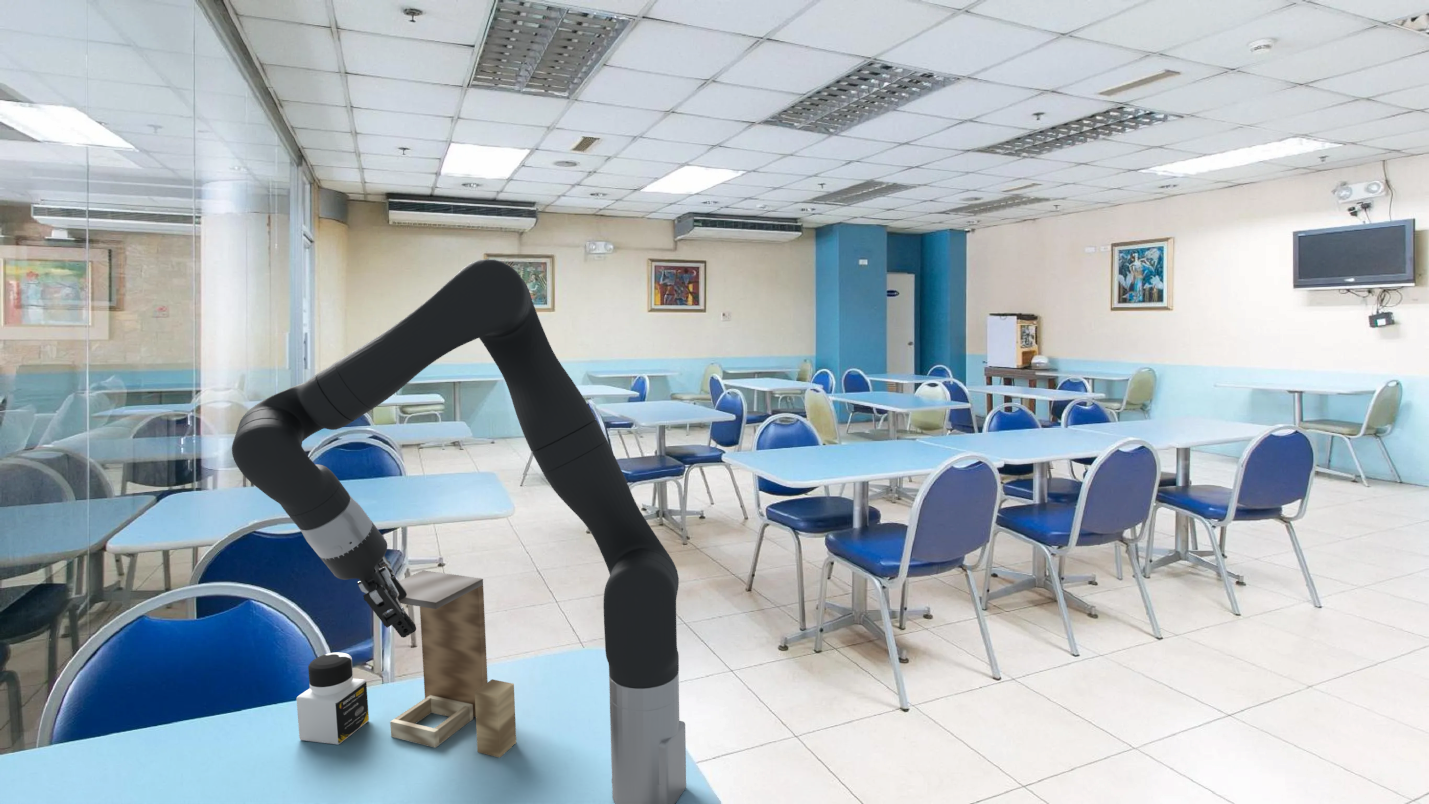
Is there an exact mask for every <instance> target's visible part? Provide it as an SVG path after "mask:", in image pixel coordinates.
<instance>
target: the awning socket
mask: <svg viewBox="0 0 1429 804" xmlns="http://www.w3.org/2000/svg"><path fill="white" fill-rule="evenodd" d="M398 581H399V583H400V584H401V585H402V587H403V588H404V589H405V591H406V594H407V596H406V597H405V598H403V599H401V600H400V601H399V602H400V604H401V605H403V604H404V605H409V606H415V607H419V615H420V617H419V618H420V632H421V633H420V634H421V649H422V654H421V655H422V666H423V667H422V669H423V670H422V671H423V672H422V673H423V685H424V686H423V688H424V699H422V700H420V701H419V702H417V703H416V704H414V705H413V706H411V707H410V708H408V709H407V710H405V711H404V712H402V713H401V714H400V715H397V716H396V717H394V719H392V720H390V722H389V723H390V735H391V736H390V737H391V738H394V739H399V740H402V741H407V742H411V743H414V744H419V745H423V746H427V747H431V748H434V749H436V748H437V747H438V746H440V745H441V744H442V743H444V742H445V741H447V740H448V739H449V738H451V737H452V736H453V735H454V734H456V733H457V732H458V731H460V730H461V729H462V728H463V727H465V726H466V725H467V724H469V723H470V722H472V720H474V718H476V709H475V691H476V690H478V689H479V688H480V687H482V686H483V685H485V684H486V683H487V682H489V680H488V663H487V662H488V661H487V659H488V658H487V640H486V639H487V638H486V622H485V621H486V618H485V617H486V616H485V615H486V614H485V597H484V596H485V593H484V579H483V578H481V577H474V576H465V575H459V574H452V573H446V572H437V571H431V570H421V571H418V572H416V573H414V574H412V575H408V576H407V577H405V578H403V579H400V580H398ZM430 714H436V715H441V716H445V717H448V718H446V719H445V720H444V721H442V722H441V723H439V724H438V725H437V726H435V727H431V726H426V725H421V724H417V723H418V722H420V721H422V720H423V719H425V718H426V717H427V716H429V715H430Z"/></svg>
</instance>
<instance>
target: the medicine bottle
mask: <svg viewBox="0 0 1429 804" xmlns="http://www.w3.org/2000/svg"><path fill="white" fill-rule="evenodd" d="M307 668H308V681H309V682H308V683H309V688H308V689H306V690H304V691H303V692H302V693H300V694H299V695H298V696H297V697H296V710H297V711H296V712H297V723H298V734H299V735H298V738H299V740H300V741H306V742H314V743H321V744H327V745H328V744H331V745H341V744H342V743H343V742H344V741H346V740H347V739H348V738H349V737H351V736H352V735H354V733H356V732H357V731H358V730H359V729H360V728H361V727H364V725H365V724H366V723H368V722H369V721H370V717H369V701H368V686H367V680H366V679H362V678H354V672H353V658H352V656H351V655H350V654H348V653H346V652H338V651H337V652H330V653H329V652H328V653H325V654H322V655H320V656H318V657H316V658H314V659H313V660H312V661H310V663H309V664H308V667H307Z"/></svg>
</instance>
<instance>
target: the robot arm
mask: <svg viewBox="0 0 1429 804" xmlns="http://www.w3.org/2000/svg"><path fill="white" fill-rule="evenodd" d="M477 339H479V340H480V342H482V344H483V345H484V347H485V349H486V350H487V352H488V353H489V355H490V357H491V358H492V360H493V361H494V363H495V364H496V366H497V369H499V372H500V374H501V375H502V378H503V379H504V381H505V383H506V386H507V389H508V392H509V395H510V398H511V402H512V404H513V408H514V411H515V415H516V417H517V420H518V423H519V425H520V429H521V431H522V434H523V436H524V439H525V441H526V443H527V444H528V448H529V450H530V451H531V453H532V455H533V458H534V459H535V461H536V463H537V464H538V466H539V468H540V470H541V472H542V474H543V475H544V477H545V479H546V480H547V482H548V484H549V485H550V486H551V488H552V489H553V491H554V492H555V493H556V494H557V496H558V497H559V498H560V499H561V500H562V501H563V503H565V505H567V506H568V508H570V510H571V511H573V513H575V515H577V517H578V518H579V519H580V520H581V521H582V522H583V523H584V525H585V526H586V527H587V529H588V530H589V532H590V533H591V535H592V537H593V539H594V541H595V542H596V544H597V547H598V549H599V551H600V554H601V556H602V558H603V561H604V562H605V563H604V564H605V565H606V568H607V570H608V572H609V577H608V579H607V582H606V583H605V586H604V587H605V588H604V590H603V591H604V592H603V626H604V628H603V629H604V646H605V647H604V649H605V656H606V660H607V663H608V674H609V675H608V676H609V677H608V680H609V681H608V683H609V720H610V722H609V723H610V724H609V725H610V761H611V765H610V766H611V785H612V786H611V789H612V790H611V791H612V792H611V793H612V801H613V803H614V804H677V801H678V800H679V799H680V797H681V796H682V794H683V793H684V792H685V790H686V789H687V751H686V742H687V741H686V722H685V721H682V720H680V680H679V677H680V676H679V675H680V674H679V671H680V668H679V667H680V665H679V659H680V656H679V651H678V645H677V644H678V642H677V640H678V639H677V630H678V629H677V597H678V591H679V582H680V581H679V579H680V578H679V574H678V570H677V567H676V564H675V563H674V560H673V559H672V557H671V556H670V554H669V553H668V551H667V550H666V548H665V547H664V545H663V543H661V541H660V540H659V538H658V536H657V535H656V533H655V532H654V530H653V528H651V527H652V526H650V524H649V523H648V521H647V519H646V518H645V516H644V515H643V513H642V511H641V510H640V508H639V506H638V505H637V503H636V500H635V499H634V498H635V497H634V496H633V494H632V491H631V488H630V487H629V483H628V482H627V479H626V477H625V475H624V472H623V471H622V469H621V467H620V464H619V462H618V461H617V458H616V456H615V454H614V452H613V450H612V448H611V445H610V443H609V442H608V440H607V438H606V435H605V434H604V431H603V430H602V428H601V425H600V424H599V422H598V420H597V418H596V417H595V414H594V412H593V411H592V410H591V408H590V406H589V404H588V403H587V401H586V399H585V397H584V396H583V395H582V393H581V392H580V390H579V389H578V386H577V385H576V383H575V382H574V381H573V379H572V378H571V377H570V375H569V374H568V372H567V370H566V369H565V368H564V367H563V364H562V363H561V362H560V360H559V359H558V357H557V356H556V354H555V352H554V350H553V348H552V345H551V344H550V342H549V339H548V337H547V335H546V332H545V330H544V328H543V326H542V323H541V321H540V317H539V315H538V312H537V311H536V307H535V305H534V302H533V299H532V295H531V292H530V290H529V288H528V285H527V282H525V280H524V279H523V278H522V277H521V275H520V274H519V273H518V272H517V271H516V270H515V268H513V267H512V266H511V265H509V264H507V263H505V262H503V261H500V260H497V259H489V258H488V259H487V258H485V259H478V260H475V261H472V262H470V263H468V264H467V265H466V266H464V267H463V268H462V269H460V271H458V272H457V273H456V274H454V276H453V277H452V278H450V279H449V280H448V281H447V282H446V283H445V284H444V285H443V286H441V287H440V288H439V289H438V290H437V291H436V292H435V293H434V294H432V295H431V297H429V298H428V299H426V301H425V302H424V303H421V305H420V306H418V307H417V308H416V309H414V310H413V311H411V312H410V313H409V314H408V315H407V316H405V317H404V318H403V319H401V320H400V321H399V322H397V323H395V324H394V325H393V326H391V327H389V328H388V329H386V331H383V332H381V334H379V335H378V336H376V337H374V338H373V339H371V340H370V341H368V342H366V343H365V344H363V345H361V346H360V347H358V348H356V349H355V350H353V351H351V352H350V353H348V354H347V355H345V356H343V357H342V358H340V359H339V360H337V361H336V362H333V363H332V364H330V365H329V366H328V367H326V368H323V369H322V370H321V371H320V372H318V373H316V374H315V375H313V376H312V377H310V378H309V379H308V380H307V381H305V382H302V383H299V384H297V385H294V386H292V387H289V388H287V389H285V390H281V391H280V392H278V393H275V394H273V395H271V396H269V397H267V398H265V399H263V400H262V401H260V402H258V403H257V404H255V405H254V406H253V407H251V408H249V410H248V411H247V412H246V413H245V414H244V415H243V416H242V417H241V419H240V421H239V423H238V426H237V430H236V433H235V436H234V439H233V441H232V446H231V454H232V457H233V461H234V463H235V465H236V467H237V468H238V469H239V471H240V472H241V474H242V475H243V477H245V478H246V479H247V481H249V482H250V483H251V484H252V485H253V486H255V488H257V489H258V490H260V491H261V492H262V493H264V494H265V495H266V496H267V497H268V498H270V499H272V500H274V501H275V502H276V503H278V504H279V505H280V506H281V508H282V509H283V511H285V513H286V514H287V515H288V517H289V518H290V519H291V520H292V521H293V523H294V524H295V525H296V526H297V528H298V529H299V530H300V532H301V533H302V535H303V538H304V539H305V541H306V542H307V543H308V545H309V546H310V547H311V549H313V551H314V552H315V553H316V555H317V556H318V557H319V559H320V560H321V561H322V562H323V563H324V564H325V566H326V567H327V568H328V569H329V571H330V572H331V573H332V574H333V576H334V577H336V578H337V579H339V580H344V581H345V580H354V579H357V580H359V581H357V583H356V584H357V585H358V587H359V589H360V591H361V592H362V593H364V594H363V595H362V596H363V600H364V602H366V603H367V604H368V605H369V607H370V608H371V609H372V611H373V612H374V613H375V615H376V616H377V617H378V619H379V620H380V622H382V625H383V626H384V627H385V628H389V627H391V626H392V628H393V629H394V630H395V631H396V632H397V634H398V635H399V636H400V637H401V638H407V637H408V636H410V635H411V634H412V633H415V632H416V630H417V625H416V624H415V622H414V621H413V619H411V618H410V616H409V615H408V613H407V612H406V611H405V608H404V606H402V603H400V602H399V601H400V600H401V599H403V598H405V597H406V596H407V594H406V591H405V589H404V588H403V587H402V585H401V584H400V583H399V581H400V580H398V579H397V577H396V574H395V571H394V570H393V568H392V565H391V561H390V560H388V559H387V557H386V556H385V555H386V553H387V550H388V543H387V540H386V539H385V537H384V536H383V535H382V533H381V532H380V531H379V529H378V528H377V526H376V525H375V524H374V522H373V521H372V519H371V518H370V517H369V515H367V512H365V510H364V509H363V507H362V506H361V505H360V504H359V503H358V502H357V501H356V500H355V499H354V498H353V497H352V496H351V495H350V493H349V492H348V491H347V489H346V488H345V486H344V485H343V484H342V483H341V481H340V480H339V479H338V477H337V476H336V474H335V473H334V472H333V471H332V470H330V469H329V468H328V467H327V466H325V465H322V464H318V463H315V462H314V461H313V460H312V459H311V458H310V457H309V456H308V454H307V453H306V451H305V449H304V447H303V441H305V440H306V439H307V438H309V437H310V436H313V435H314V434H316V433H318V432H319V431H322V430H323V429H327V430H330V431H331V430H332V431H334V430H335V431H337V430H340V429H342V428H344V427H346V426H347V425H349V424H351V423H352V422H354V421H355V420H357V419H359V418H361V417H362V416H364V415H365V414H367V413H368V412H370V411H371V410H373V409H374V408H376V407H378V406H380V405H381V404H382V403H383V402H385V401H386V400H388V399H389V398H391V397H392V396H393V395H395V394H396V393H397V392H398V391H400V390H401V389H403V387H404V386H405V385H407V384H408V383H409V382H410V381H411V380H412V379H414V378H415V377H416V376H417V375H419V374H420V373H421V372H422V371H424V370H425V369H426V368H427V367H428V366H430V365H432V364H433V363H434V362H436V361H437V360H438V359H440V358H442V357H444V355H446V354H448V353H451V352H452V351H453V350H456V349H457V348H459V347H462V346H464V345H466V344H467V343H470V342H472V341H475V340H477ZM388 611H389V612H388Z"/></svg>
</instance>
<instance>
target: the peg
mask: <svg viewBox="0 0 1429 804" xmlns="http://www.w3.org/2000/svg"><path fill="white" fill-rule="evenodd" d="M515 701H516V699H515V684H514V683H513V682H507V681H501V680H498V679H490V680H488V682H487V683H486V684H485V685H483V686H482V687H480V688H479V689H478V690H476V691H475V709H476V717H475V724H476V725H475V726H476V746H477V749H476V750H477V753H479V754H484V755H486V756H487V755H488V756H490V757H491V756H492V757H495V758H501V757H502V756H504V755H505V753H507V752H508V751H509V750H510V749H512V748H513V747H514V746H515V745H516V744H517V729H516V728H517V727H516V726H517V725H516V704H515V703H516V702H515ZM514 744H515V745H514ZM513 745H514V746H513ZM512 746H513V747H512Z"/></svg>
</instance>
